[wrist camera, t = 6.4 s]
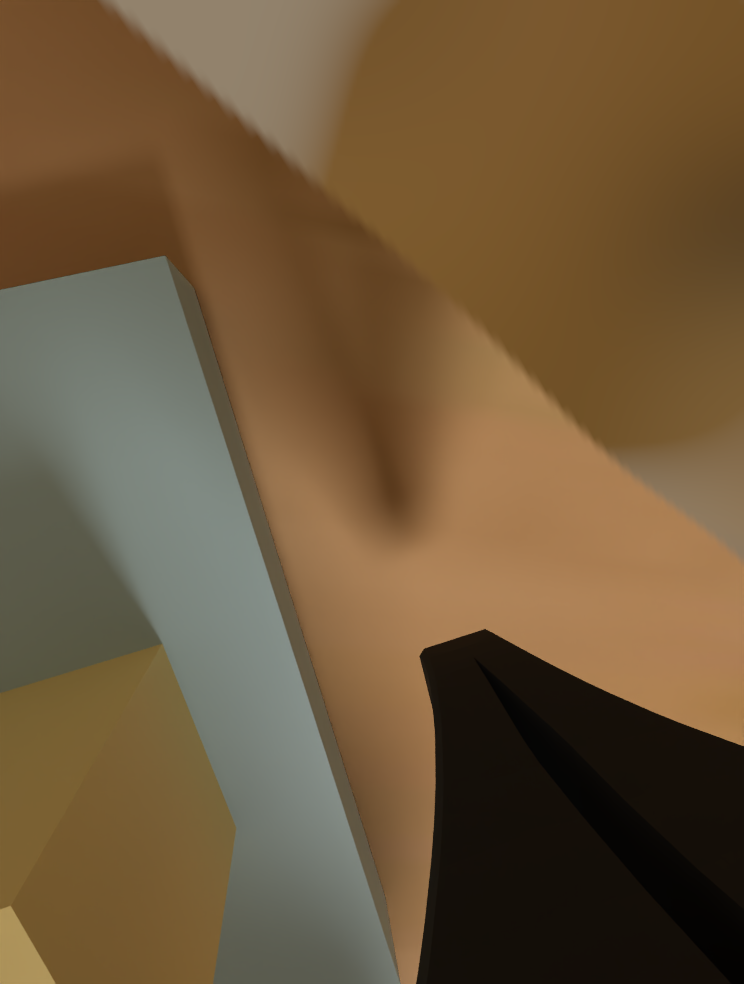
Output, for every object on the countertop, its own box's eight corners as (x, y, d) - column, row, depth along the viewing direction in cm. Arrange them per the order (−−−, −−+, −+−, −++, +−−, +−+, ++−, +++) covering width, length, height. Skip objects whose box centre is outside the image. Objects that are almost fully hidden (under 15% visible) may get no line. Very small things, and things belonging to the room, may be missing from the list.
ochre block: (236, 827, 9) (181, 1200, 5) (14, 906, 9) (-263, 1393, 4) (161, 643, 8) (11, 905, 4) (-92, 720, 8) (-583, 1114, 3)
